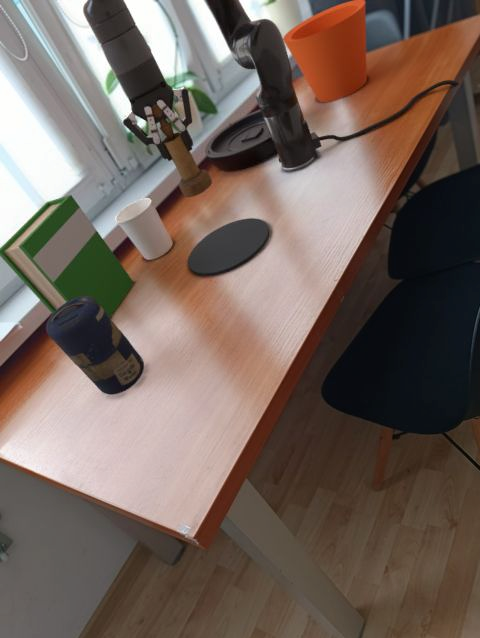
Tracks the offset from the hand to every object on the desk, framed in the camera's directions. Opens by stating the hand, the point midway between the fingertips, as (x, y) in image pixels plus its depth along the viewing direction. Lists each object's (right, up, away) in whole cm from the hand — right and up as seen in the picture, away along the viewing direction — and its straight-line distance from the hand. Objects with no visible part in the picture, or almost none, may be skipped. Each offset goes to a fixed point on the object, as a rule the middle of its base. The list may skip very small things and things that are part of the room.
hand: (180, 153), depth 95 cm
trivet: (+9, -15, +14) cm, 23 cm away
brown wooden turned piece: (+3, -5, +5) cm, 8 cm away
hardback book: (-20, -29, +17) cm, 40 cm away
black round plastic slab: (+15, +23, +52) cm, 59 cm away
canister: (-9, -44, -5) cm, 45 cm away
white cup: (-10, -13, +28) cm, 33 cm away
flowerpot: (+41, +44, +59) cm, 85 cm away
